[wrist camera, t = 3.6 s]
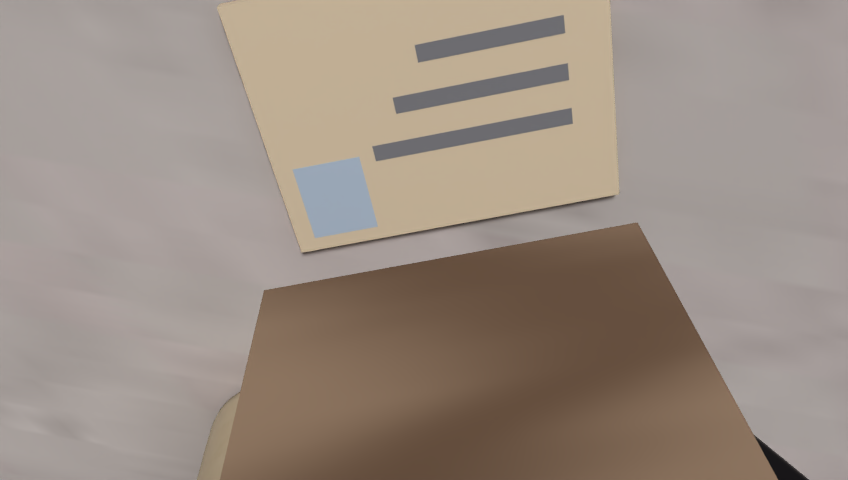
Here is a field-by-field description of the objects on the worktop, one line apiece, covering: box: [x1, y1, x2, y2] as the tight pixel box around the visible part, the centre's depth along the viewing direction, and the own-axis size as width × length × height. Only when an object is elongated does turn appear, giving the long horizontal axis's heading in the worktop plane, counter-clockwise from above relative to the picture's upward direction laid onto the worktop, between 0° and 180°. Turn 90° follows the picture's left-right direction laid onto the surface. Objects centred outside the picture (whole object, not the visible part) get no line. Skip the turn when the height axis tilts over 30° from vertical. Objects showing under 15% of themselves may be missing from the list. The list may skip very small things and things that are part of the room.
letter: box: [217, 0, 619, 253], centre depth 18 cm, size 9×7×1 cm
